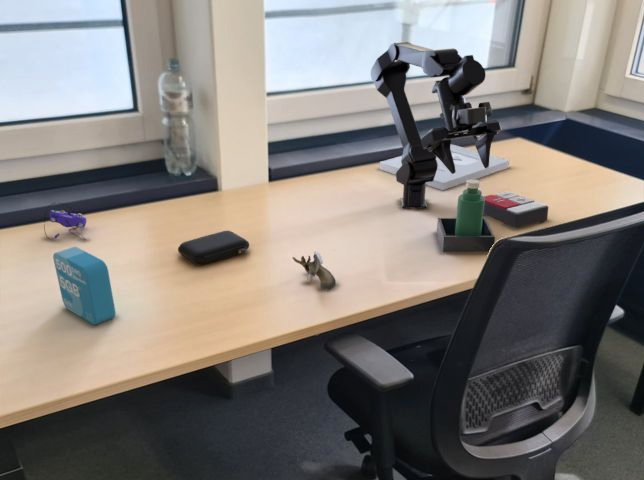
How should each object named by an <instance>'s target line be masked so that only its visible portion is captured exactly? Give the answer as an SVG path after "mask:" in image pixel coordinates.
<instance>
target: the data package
mask: <svg viewBox="0 0 644 480" xmlns="http://www.w3.org/2000/svg"><path fill="white" fill-rule="evenodd" d="M52 259H53V264H54V268H55V272H56V276H57V277H56V278H57V282H58V286H59V291H60V295H61V300H62V303H63V305H64V307H65V308H66V309H67V310H68V311H70V312H72V313H74V315H77V316H78V317H79V318H81V319H83V320H85V321H86V322H88V323H90V324H91V325H94V326H96V325H98V324H100V323H103V322H105V321H109V320H110V319H114V318H115V317H116V313H117V311H116V308H115V301H114V295H113V290H112V289H113V288H112V283H111V278H110V273H109V268H108V265H107V263H106V262H105V261H104V260H103V259H102V258H99V257H97V256H95V255H93V254H91V253H89V252H88V251H85V250H84V249H82V248H80V247H78V246H72V247H69V248H66V249H63V250H59V251H57V252H54V253H53V258H52Z"/></svg>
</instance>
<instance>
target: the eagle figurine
mask: <svg viewBox="0 0 644 480" xmlns="http://www.w3.org/2000/svg"><path fill="white" fill-rule="evenodd" d="M312 256H313V261H311V260H312V259H311V256H310V255H308V258H307V260H306V258H305V256H304V255H302V256H301V258H300V260H299V259H297V258H296V257H294V256H292V258H291V259H292V260H293V261H294V262H295V263H297V264H299V265H301V266H302V267H303V268H304V270H305V271H306V273H307V278H306V279H307V280H306V284H308V283H311V281H312V280H313V278H315V276H317V277H318V279H319V284H320V289H322V290H327V291H329V290H330V291H331V290H332V289H334V287H335V286H336V284H337V282H336V281H337V280H336V278H335V277H334V274H333V273H332V272H331V271H329V269H328V268H326V267H325V266H323V263H324V260H323V257H322V255H321V253H320V252H319V251H314V252H313V255H312Z"/></svg>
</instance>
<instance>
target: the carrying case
mask: <svg viewBox="0 0 644 480" xmlns="http://www.w3.org/2000/svg"><path fill="white" fill-rule="evenodd" d="M248 249H250V242H249V241H248V240H247V239H246V238H244V237H242V236H240V235H239V234H237V233H235V232H233V231H232V230H222V231H219V232H215V233H212V234H208V235H204V236H200V237H197V238H193V239H190V240H186V241H183V242H182V243H180V244H179V246H178V248H177V251H178V253H179V254H180V255H181V256H183V257H184V258H185V259H188V260H189V261H191V262H192V263H193V264H195V265H198V266H199V265H200V266H201V265H205V264H209V263H212V262H216V261H219V260H222V259H225V258H229V257H232V256H236V255H240V254H242V253H245V252H246V251H247V250H248Z"/></svg>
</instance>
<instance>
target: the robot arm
mask: <svg viewBox="0 0 644 480" xmlns="http://www.w3.org/2000/svg"><path fill="white" fill-rule="evenodd" d="M410 65H413V66H416V67H419V68H421V69H422V72H423V73H424V74H425V75H427V76H428V77H429V78H441V77H443V78H442V79H439V80H435V81H434V85H433V86H432V87H431V88H432V89H431V94H437V97H438V101H439V105H440V109H441V112H440V114H439V119H440V120H442V119H443V121H444V123H445V126H441V127H435V128H434V127H433V128H431V129H430V130H428V131H427V132H425V134H423V135H422V136H421V135H420V131H419V129H418V126H417V122H416V121H415V117H414V115H413V112H412V108H411V106H410V102H409V100H408V97H407V94H406V91H405V90H406V89H405V88H406V84H407V80H408V79H407V78H408V77H407V74H408V72H409V70H410V69H411V66H410ZM370 78H371V80H372V83H373V84H374V87H375V89H376V91H377V92H378V93H379V94H380V95H382V96H383V97H384V98H385V99H386V101H387V104H388V107H389V110H390V112H391V116H392V119H393V122H394V124H395V128H396V131H397V134H398V137H399V140H400V143H401V145H402V149H403V150H402V155H401V156H402V159H401V163H402V166H401V167H400V168H399V170H398V171H397V172H396V175H395V179H396V182H398V184H401V185H403V191H402V192H403V193H402V195H403V196H402V197H400V204H401V208H402V209H427V208H428V204H427V201H426V186H427V185H426V182H433V181H434V177H435V174H436V171H437V168H438V164H437V161H436V158H437V157H438V158H439V159H440V160H441V162H443V164H444V165H445V166H446V167H447V169H448V170H449V171H450V172H451V173H452V174H454V173H455V172H456V171H455V165H454V161H453V157H452V154H451V150H450V145H451V144H452V140H458V139H464V138H471V137H473V139H474V140H475V142H473V143H474V147H475V149H476V151H477V152H478V154H479V156H480V159H481V161H482V164H483V166H484V167H485V168H488V167H489V157H490V155H491V147H492V142H493V140H494V138H495V137H497V136H498V135H499V134H498V133H500V132H501V131H502V126H501V123H500V121H498V120H497V119H492V120H491V119H490V120H487V118H490V117H492V114H493V111H492V109H493V108H492V105H491V103H490V101H485V102H484V101H483V102H479V103H478V106H477V107H473V105H472V104H471V102H467V100H466V96H467V95H469V94H470V93H472V91H474V90H475V89H476V88H478V87H479V86H480V85H481V84H483V83H484V81H485V80H486V69H485V67H483V65H482V64H481V63H480V62H479V61H478V60H476V59H475V58H474V55H473V54H467V55H464V56H463V57H462V56H461V55H460V54H459V51H458V50H457V49H456V48H442V49H440V48H439V49H431V48H428V47H424V46H421V45H417V44H413V43H411V42H409V41H401V42H400V41H399V42H393V43H391V44H390V45H389V46H388V49H387V50H386V51H385V52H383V53H382V54H381V55H380V56H378V57H377V58H376V60H375V61H374V63H373V64H372V67H371V69H370ZM435 155H436V156H437V157H436V156H435Z"/></svg>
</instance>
